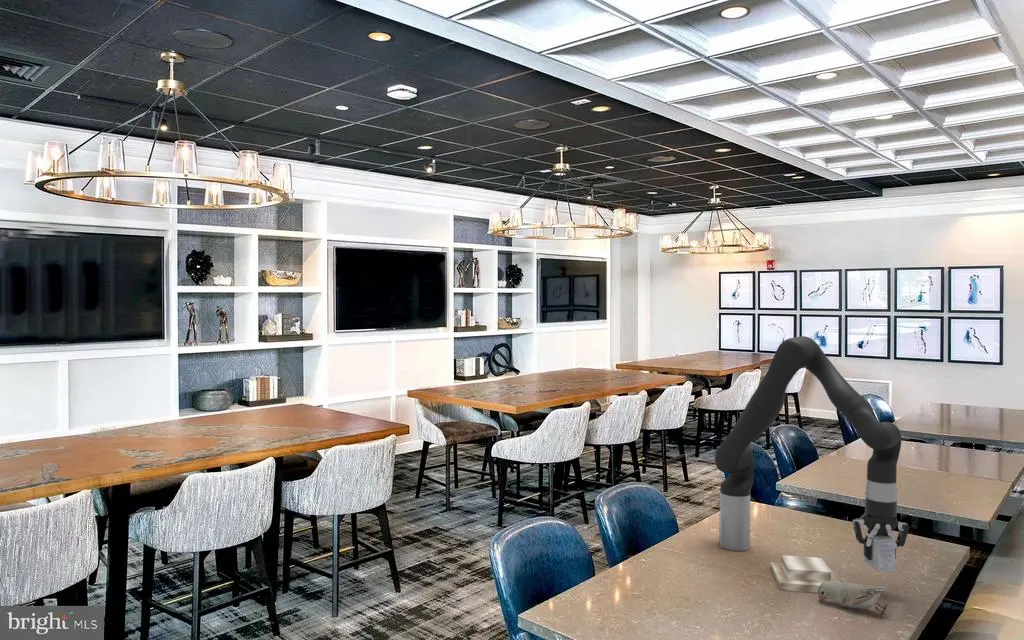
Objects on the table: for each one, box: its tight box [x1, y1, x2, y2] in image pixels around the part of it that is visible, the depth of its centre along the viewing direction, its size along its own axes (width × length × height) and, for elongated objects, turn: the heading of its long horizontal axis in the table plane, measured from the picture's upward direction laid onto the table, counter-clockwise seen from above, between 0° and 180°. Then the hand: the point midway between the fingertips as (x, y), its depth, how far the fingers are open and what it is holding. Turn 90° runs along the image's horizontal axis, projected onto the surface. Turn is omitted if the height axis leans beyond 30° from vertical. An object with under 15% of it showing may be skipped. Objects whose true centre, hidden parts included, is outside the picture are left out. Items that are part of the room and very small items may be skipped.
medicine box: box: [864, 530, 896, 573], centre depth 187 cm, size 8×4×9 cm, turn 179°
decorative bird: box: [817, 581, 888, 619], centre depth 178 cm, size 5×16×8 cm, turn 53°
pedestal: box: [770, 555, 841, 594], centre depth 196 cm, size 16×16×5 cm
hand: (879, 559), depth 187 cm, fingers closed on medicine box, 5 cm apart
